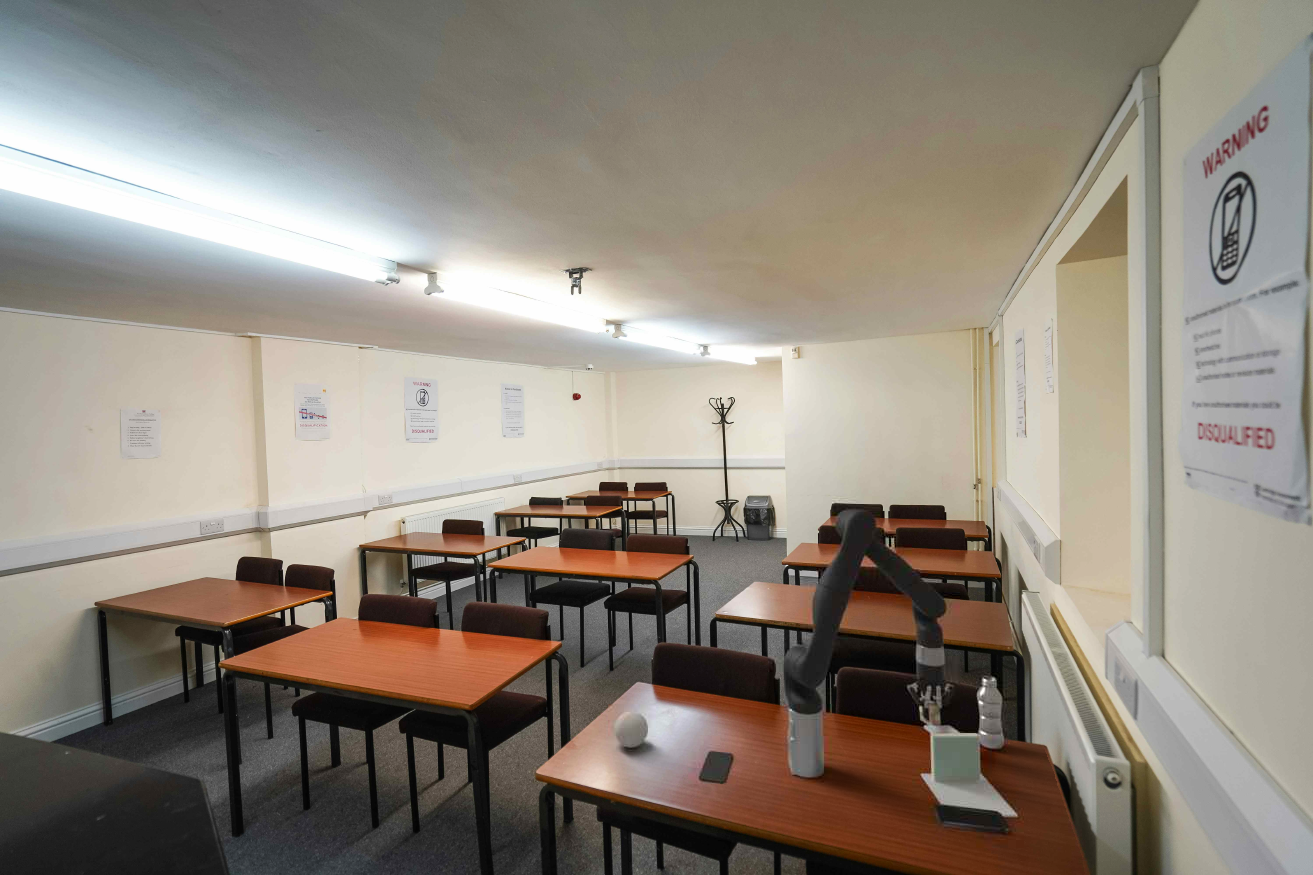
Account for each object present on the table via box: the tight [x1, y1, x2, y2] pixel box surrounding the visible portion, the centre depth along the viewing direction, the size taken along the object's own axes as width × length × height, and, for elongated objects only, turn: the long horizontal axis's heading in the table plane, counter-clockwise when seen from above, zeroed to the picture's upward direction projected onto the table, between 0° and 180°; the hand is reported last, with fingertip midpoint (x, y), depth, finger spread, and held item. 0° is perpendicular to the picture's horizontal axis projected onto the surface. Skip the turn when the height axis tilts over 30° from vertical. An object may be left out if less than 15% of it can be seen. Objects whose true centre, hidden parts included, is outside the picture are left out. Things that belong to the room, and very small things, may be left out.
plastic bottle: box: [976, 675, 1005, 750], centre depth 177 cm, size 6×7×20 cm
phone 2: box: [933, 803, 1010, 835], centre depth 144 cm, size 8×1×15 cm
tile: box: [929, 732, 981, 782], centre depth 160 cm, size 12×2×12 cm, turn 87°
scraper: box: [918, 697, 961, 733], centre depth 173 cm, size 7×16×6 cm, turn 177°
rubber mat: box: [920, 773, 1019, 818], centre depth 154 cm, size 16×18×1 cm
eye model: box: [614, 710, 649, 749], centre depth 183 cm, size 10×10×10 cm
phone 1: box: [698, 750, 734, 784], centre depth 170 cm, size 7×1×15 cm
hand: (931, 719), depth 175 cm, fingers closed on scraper
